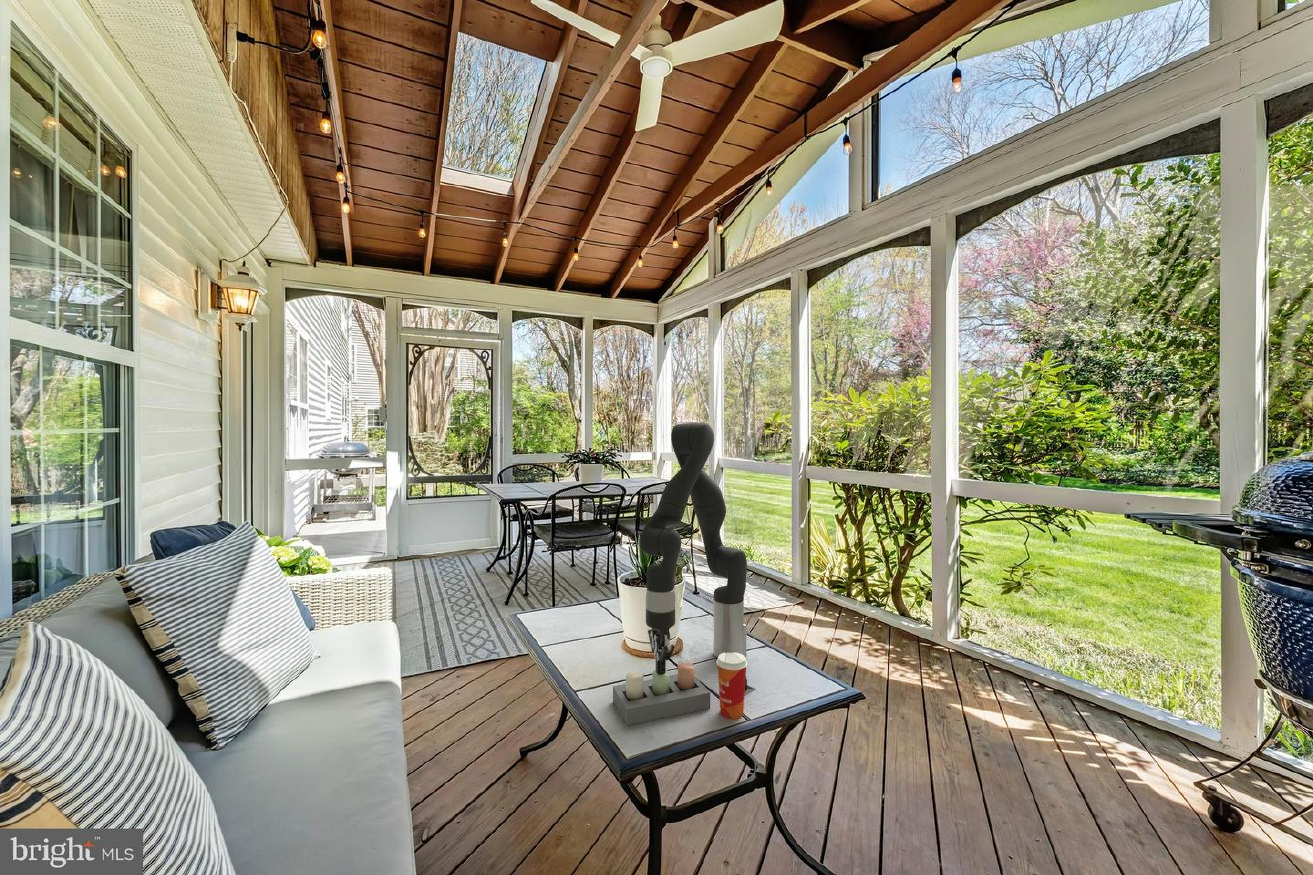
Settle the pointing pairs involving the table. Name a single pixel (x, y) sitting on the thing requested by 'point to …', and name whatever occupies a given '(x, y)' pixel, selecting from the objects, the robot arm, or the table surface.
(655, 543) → the robot arm
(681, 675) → the terracotta button
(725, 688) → the paper cup
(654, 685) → the sage button
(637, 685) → the cream button
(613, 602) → the table surface
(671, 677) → the button board
